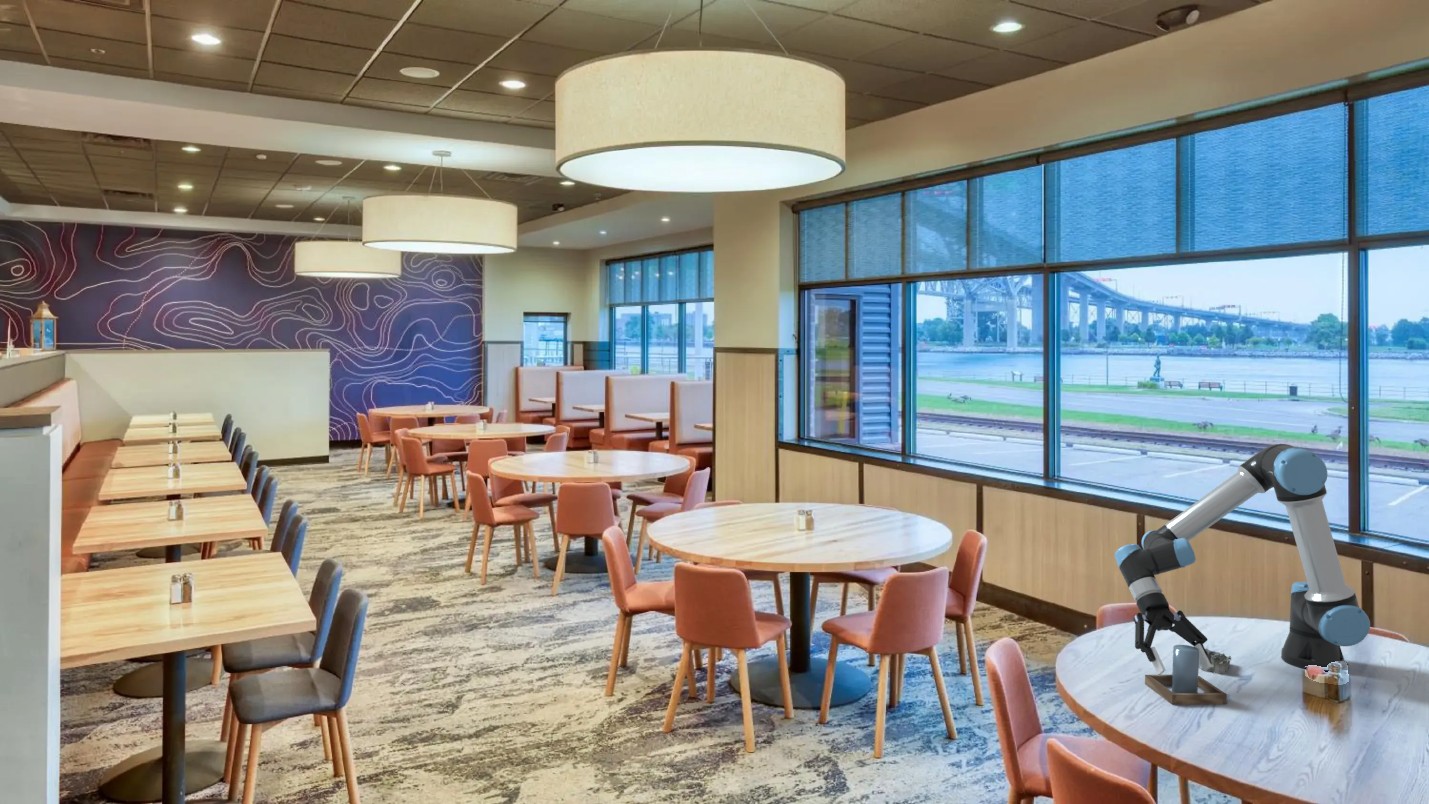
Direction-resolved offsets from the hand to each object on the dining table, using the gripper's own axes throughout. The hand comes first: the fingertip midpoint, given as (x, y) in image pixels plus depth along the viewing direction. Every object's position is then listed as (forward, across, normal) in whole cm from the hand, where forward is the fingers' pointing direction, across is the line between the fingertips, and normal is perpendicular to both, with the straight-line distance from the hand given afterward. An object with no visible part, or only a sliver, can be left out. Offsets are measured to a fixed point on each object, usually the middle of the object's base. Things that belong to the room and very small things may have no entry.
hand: (1185, 670), depth 242 cm
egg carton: (-7, -22, -16) cm, 28 cm away
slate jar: (+4, 0, -5) cm, 6 cm away
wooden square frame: (+4, 0, -5) cm, 6 cm away
